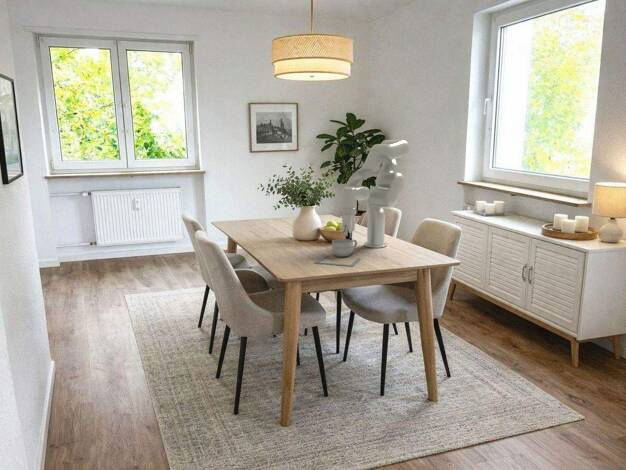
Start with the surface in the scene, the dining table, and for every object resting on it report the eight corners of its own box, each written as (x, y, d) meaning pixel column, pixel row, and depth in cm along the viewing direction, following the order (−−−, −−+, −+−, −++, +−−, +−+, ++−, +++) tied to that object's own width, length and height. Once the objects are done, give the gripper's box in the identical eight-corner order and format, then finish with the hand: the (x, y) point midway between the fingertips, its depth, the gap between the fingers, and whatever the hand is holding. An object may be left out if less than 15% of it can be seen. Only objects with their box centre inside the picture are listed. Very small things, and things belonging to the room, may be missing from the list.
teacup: (335, 258, 260) (335, 243, 259) (328, 253, 270) (329, 238, 269) (361, 256, 264) (361, 241, 262) (354, 252, 274) (354, 237, 273)
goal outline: (323, 255, 266) (323, 255, 266) (361, 259, 259) (361, 258, 259) (313, 263, 251) (313, 262, 251) (353, 266, 245) (353, 266, 245)
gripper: (346, 208, 278) (345, 242, 281) (338, 212, 264) (337, 247, 267) (359, 209, 275) (358, 243, 279) (352, 213, 262) (351, 249, 265)
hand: (348, 245), depth 273 cm, fingers closed
